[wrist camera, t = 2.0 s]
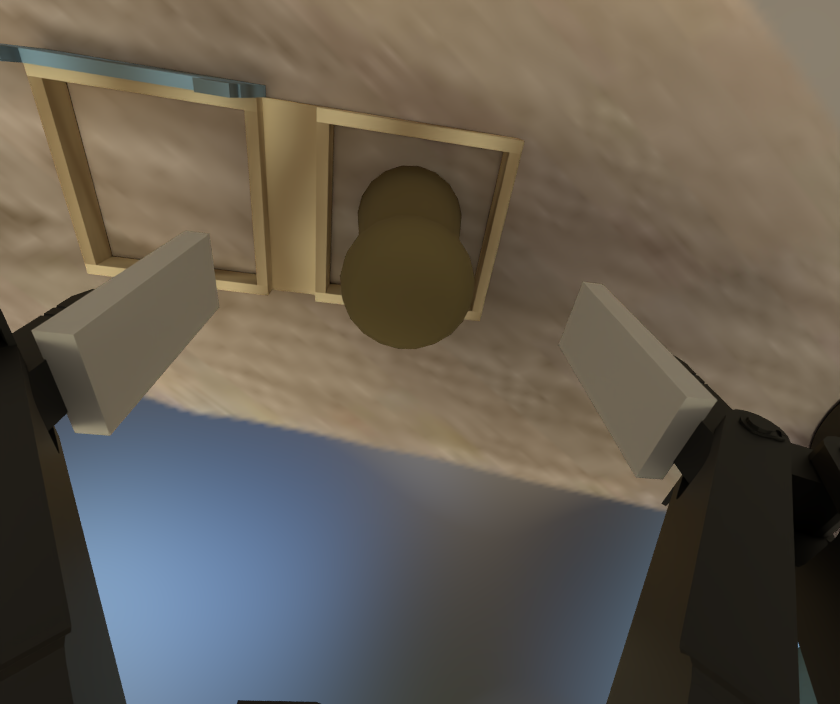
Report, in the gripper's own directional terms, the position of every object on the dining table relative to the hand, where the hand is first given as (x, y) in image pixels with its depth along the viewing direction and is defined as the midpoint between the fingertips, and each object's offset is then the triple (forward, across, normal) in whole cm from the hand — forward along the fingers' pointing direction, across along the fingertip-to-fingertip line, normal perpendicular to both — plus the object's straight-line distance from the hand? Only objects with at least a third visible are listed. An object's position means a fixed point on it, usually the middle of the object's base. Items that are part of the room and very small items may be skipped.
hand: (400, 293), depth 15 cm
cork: (+11, 0, 0) cm, 11 cm away
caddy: (+11, +6, 0) cm, 12 cm away
